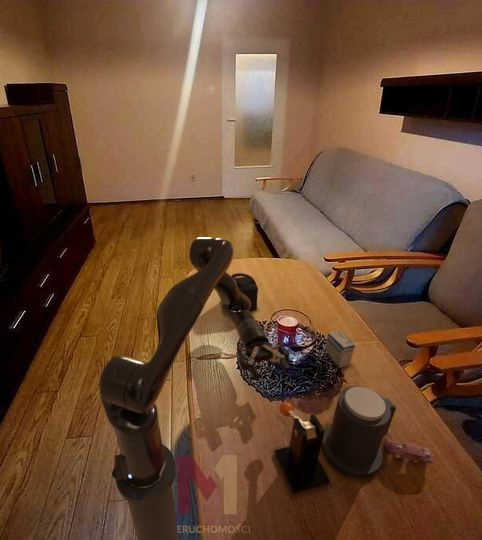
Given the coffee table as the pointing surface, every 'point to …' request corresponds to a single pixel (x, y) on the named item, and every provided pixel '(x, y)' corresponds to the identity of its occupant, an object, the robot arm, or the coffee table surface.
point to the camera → (247, 288)
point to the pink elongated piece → (409, 451)
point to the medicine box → (339, 349)
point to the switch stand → (303, 458)
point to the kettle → (358, 432)
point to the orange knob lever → (288, 410)
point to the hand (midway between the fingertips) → (272, 374)
